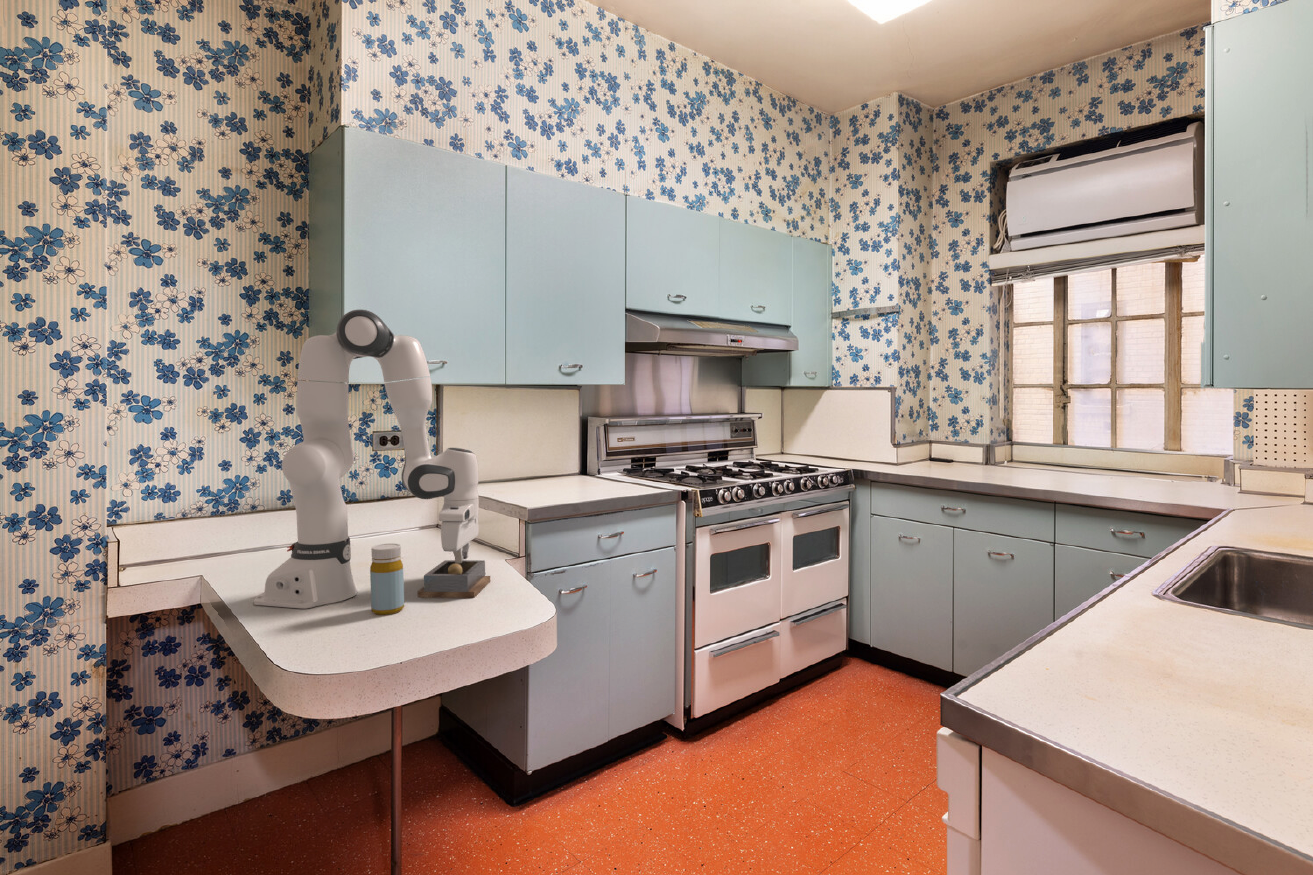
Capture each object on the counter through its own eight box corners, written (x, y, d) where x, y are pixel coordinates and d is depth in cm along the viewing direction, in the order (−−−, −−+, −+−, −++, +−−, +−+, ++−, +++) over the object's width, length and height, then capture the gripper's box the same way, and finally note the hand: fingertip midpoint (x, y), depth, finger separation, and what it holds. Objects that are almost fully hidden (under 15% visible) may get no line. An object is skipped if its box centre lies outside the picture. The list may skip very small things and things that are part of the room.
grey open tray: (424, 591, 161) (423, 575, 160) (445, 575, 175) (444, 560, 175) (467, 591, 160) (467, 575, 160) (485, 575, 175) (484, 560, 175)
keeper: (417, 597, 161) (417, 570, 160) (438, 581, 175) (437, 556, 174) (474, 597, 160) (473, 571, 160) (490, 581, 174) (489, 557, 174)
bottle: (392, 616, 147) (390, 550, 146) (364, 614, 148) (362, 549, 147) (410, 606, 154) (408, 543, 153) (383, 605, 155) (381, 542, 154)
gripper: (461, 502, 184) (462, 551, 184) (436, 515, 163) (436, 570, 164) (484, 502, 183) (484, 551, 184) (461, 516, 163) (461, 570, 164)
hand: (461, 560), depth 174 cm, fingers open, 3 cm apart
